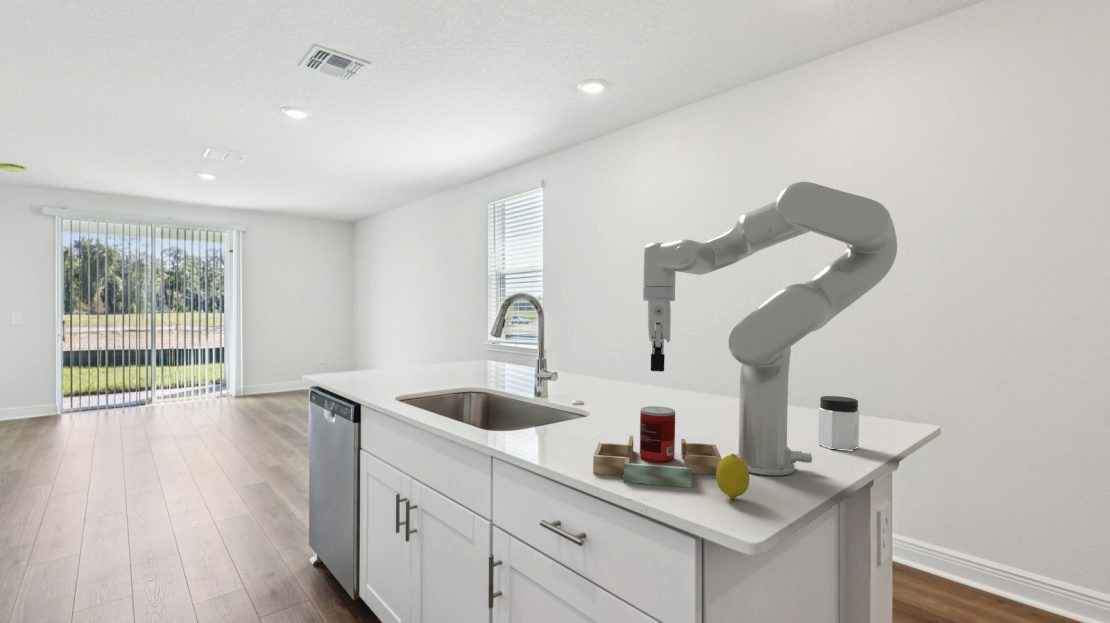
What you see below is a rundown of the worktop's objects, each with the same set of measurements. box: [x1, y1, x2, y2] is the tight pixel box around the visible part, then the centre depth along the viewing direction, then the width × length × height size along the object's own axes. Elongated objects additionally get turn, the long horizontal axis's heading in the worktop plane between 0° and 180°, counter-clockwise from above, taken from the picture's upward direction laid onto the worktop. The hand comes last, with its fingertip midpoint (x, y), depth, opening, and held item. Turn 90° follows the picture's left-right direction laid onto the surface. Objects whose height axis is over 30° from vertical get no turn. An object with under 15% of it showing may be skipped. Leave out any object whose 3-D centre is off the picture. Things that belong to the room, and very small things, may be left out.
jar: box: [817, 395, 860, 451], centre depth 126 cm, size 9×8×12 cm
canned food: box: [639, 405, 676, 464], centre depth 114 cm, size 8×8×11 cm
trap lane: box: [592, 435, 722, 489], centre depth 108 cm, size 25×23×4 cm
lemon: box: [715, 453, 750, 500], centre depth 90 cm, size 6×6×8 cm
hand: (657, 370), depth 123 cm, fingers closed
